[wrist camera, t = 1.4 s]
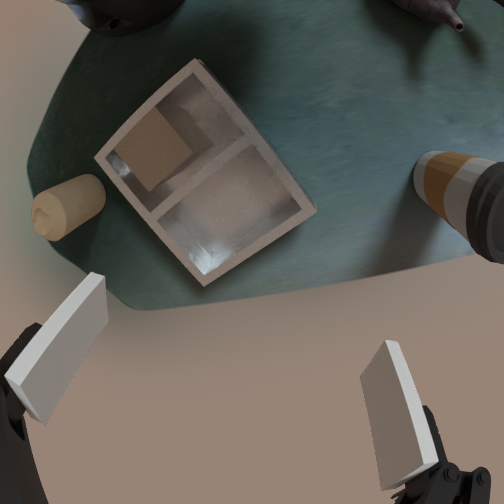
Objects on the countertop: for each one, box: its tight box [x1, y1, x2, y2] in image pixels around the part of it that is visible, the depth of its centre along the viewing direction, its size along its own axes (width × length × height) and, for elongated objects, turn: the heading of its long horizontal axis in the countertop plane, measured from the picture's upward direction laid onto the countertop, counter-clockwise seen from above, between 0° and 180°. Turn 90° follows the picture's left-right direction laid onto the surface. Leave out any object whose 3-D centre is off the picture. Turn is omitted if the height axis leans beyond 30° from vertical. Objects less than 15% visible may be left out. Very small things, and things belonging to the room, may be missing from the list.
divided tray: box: [94, 58, 317, 286], centre depth 28 cm, size 20×14×5 cm
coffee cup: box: [413, 151, 504, 264], centre depth 21 cm, size 8×8×15 cm
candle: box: [32, 174, 106, 241], centre depth 28 cm, size 6×6×10 cm
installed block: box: [113, 106, 214, 192], centre depth 25 cm, size 5×5×8 cm
